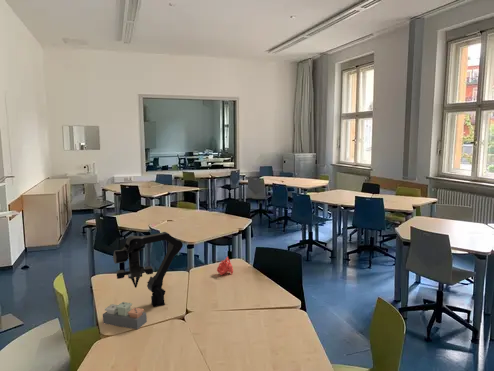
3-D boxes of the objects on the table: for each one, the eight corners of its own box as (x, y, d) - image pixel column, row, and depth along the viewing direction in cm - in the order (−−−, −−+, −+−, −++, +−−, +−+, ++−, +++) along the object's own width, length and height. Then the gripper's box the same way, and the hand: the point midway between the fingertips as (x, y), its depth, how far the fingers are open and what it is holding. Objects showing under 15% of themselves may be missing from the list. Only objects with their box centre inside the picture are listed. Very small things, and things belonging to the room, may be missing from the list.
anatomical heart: (216, 277, 255) (212, 260, 256) (228, 272, 265) (225, 256, 265) (225, 277, 250) (222, 260, 250) (237, 272, 259) (234, 255, 259)
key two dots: (123, 314, 196) (122, 301, 195) (132, 316, 194) (131, 303, 193) (116, 319, 191) (115, 306, 190) (126, 321, 189) (125, 307, 188)
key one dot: (112, 316, 198) (111, 303, 197) (121, 318, 197) (120, 305, 196) (105, 321, 193) (104, 308, 192) (114, 323, 191) (113, 309, 190)
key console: (113, 316, 200) (112, 307, 199) (146, 321, 193) (146, 312, 192) (103, 323, 192) (102, 314, 192) (137, 329, 186) (136, 319, 185)
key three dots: (135, 320, 194) (134, 307, 193) (144, 321, 192) (143, 308, 191) (128, 325, 189) (127, 312, 188) (138, 327, 187) (137, 313, 186)
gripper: (116, 266, 192) (118, 295, 194) (153, 261, 199) (155, 290, 201) (115, 260, 202) (117, 287, 204) (151, 255, 209) (152, 282, 211)
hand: (135, 287), depth 205 cm, fingers closed
